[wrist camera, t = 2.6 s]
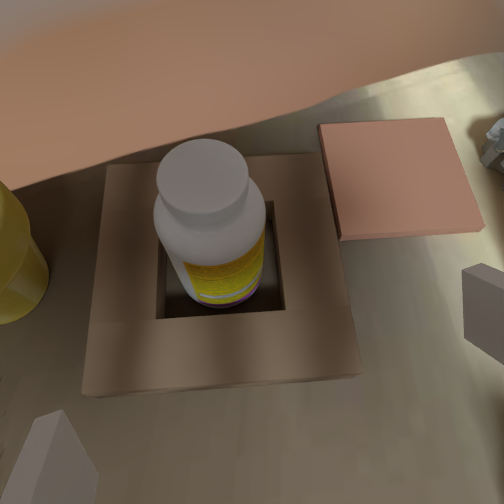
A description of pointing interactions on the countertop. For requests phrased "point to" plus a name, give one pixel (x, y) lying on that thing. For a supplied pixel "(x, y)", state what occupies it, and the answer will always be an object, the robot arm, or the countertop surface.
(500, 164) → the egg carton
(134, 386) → the pocket board
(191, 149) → the supplement bottle
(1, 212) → the plant pot
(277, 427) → the countertop surface
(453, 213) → the mat
